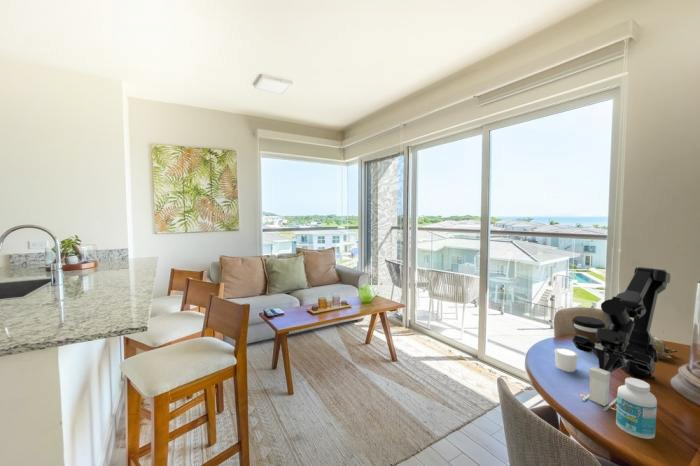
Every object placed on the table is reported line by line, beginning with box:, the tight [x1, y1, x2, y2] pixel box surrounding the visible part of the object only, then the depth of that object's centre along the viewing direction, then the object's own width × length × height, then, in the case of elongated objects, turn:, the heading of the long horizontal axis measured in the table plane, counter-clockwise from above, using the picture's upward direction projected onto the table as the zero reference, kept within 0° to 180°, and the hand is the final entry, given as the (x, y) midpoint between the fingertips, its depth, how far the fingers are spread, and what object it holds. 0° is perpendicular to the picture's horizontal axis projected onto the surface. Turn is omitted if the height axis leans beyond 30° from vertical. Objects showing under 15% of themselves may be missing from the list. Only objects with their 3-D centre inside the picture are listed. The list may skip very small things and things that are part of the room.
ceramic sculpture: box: [650, 333, 679, 360], centre depth 121 cm, size 11×9×15 cm
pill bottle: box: [615, 377, 658, 440], centre depth 78 cm, size 8×7×14 cm
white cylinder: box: [554, 347, 579, 373], centre depth 109 cm, size 7×7×7 cm
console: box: [579, 393, 617, 412], centre depth 91 cm, size 14×9×1 cm, turn 121°
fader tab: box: [588, 366, 611, 407], centre depth 89 cm, size 3×4×10 cm
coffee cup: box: [571, 315, 606, 352], centre depth 126 cm, size 11×11×12 cm
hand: (601, 376), depth 90 cm, fingers closed, pressing on fader tab
